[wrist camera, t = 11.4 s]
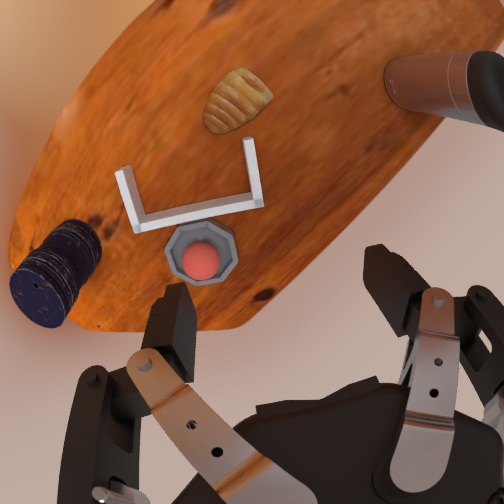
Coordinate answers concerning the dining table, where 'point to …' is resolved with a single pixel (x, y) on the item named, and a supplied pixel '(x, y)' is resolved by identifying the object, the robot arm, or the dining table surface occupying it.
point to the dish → (207, 233)
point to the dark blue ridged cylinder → (56, 273)
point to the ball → (200, 261)
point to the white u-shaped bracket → (194, 210)
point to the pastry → (235, 101)
